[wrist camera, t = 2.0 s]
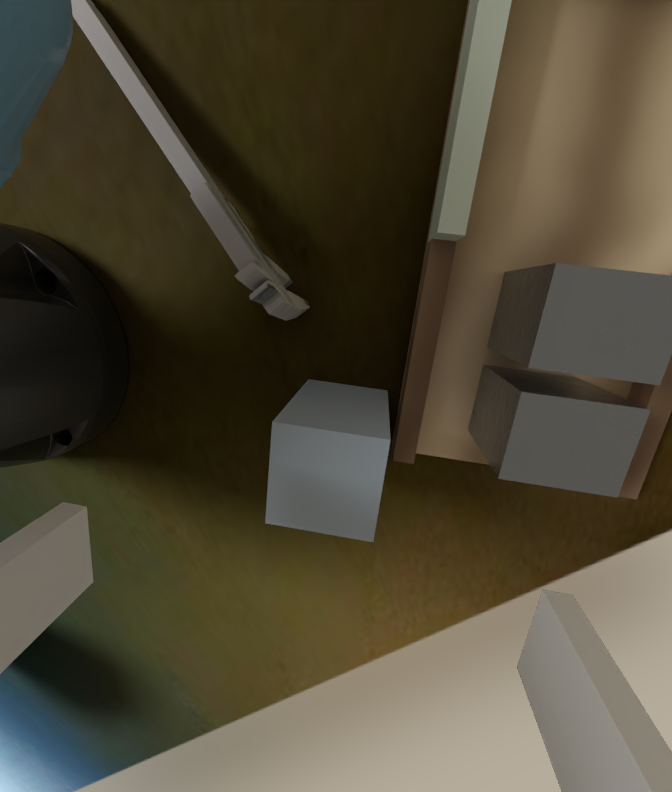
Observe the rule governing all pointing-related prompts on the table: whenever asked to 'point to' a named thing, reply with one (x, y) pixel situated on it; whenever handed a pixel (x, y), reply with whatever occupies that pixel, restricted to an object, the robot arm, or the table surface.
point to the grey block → (329, 460)
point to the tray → (469, 116)
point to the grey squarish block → (555, 430)
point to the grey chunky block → (586, 321)
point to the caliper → (192, 172)
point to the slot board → (549, 206)
